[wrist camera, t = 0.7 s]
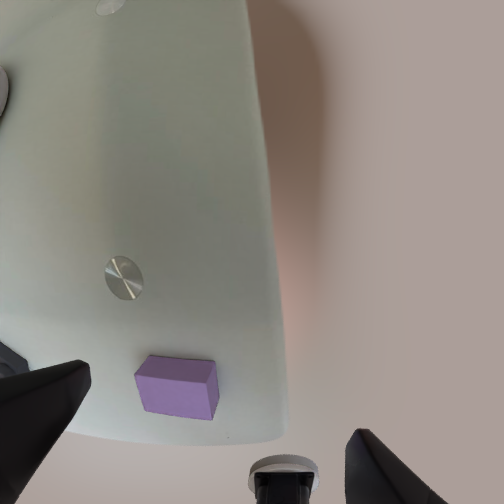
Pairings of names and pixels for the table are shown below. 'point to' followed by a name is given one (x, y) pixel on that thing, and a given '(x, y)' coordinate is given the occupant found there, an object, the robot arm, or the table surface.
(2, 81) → the dark grey egg dome
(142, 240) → the table surface
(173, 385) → the soap bar
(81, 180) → the table surface
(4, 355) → the button base
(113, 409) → the table surface
